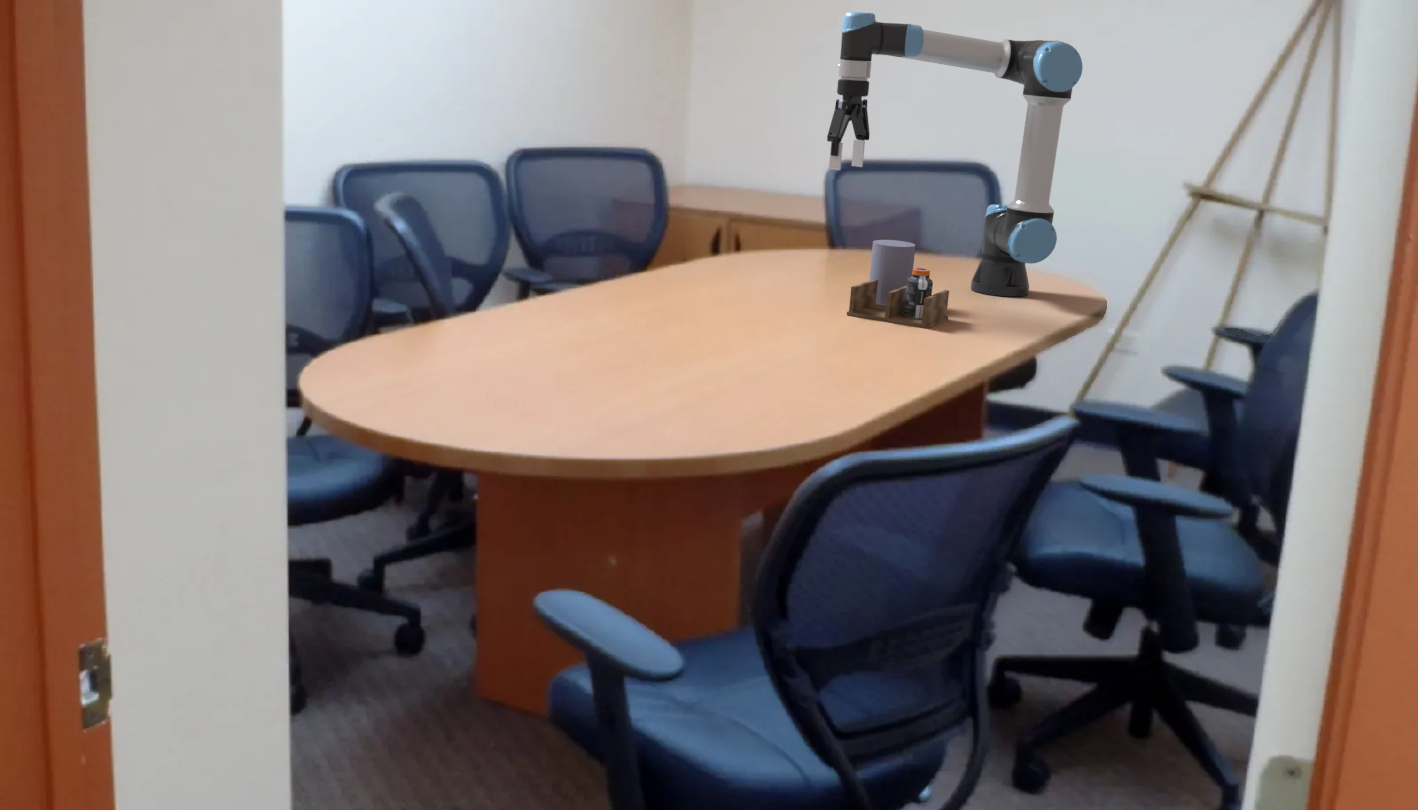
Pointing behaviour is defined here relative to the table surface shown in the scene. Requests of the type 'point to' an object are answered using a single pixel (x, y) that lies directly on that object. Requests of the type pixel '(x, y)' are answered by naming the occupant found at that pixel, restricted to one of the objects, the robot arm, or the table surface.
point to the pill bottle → (917, 292)
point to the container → (891, 266)
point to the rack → (896, 306)
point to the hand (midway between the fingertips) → (846, 168)
